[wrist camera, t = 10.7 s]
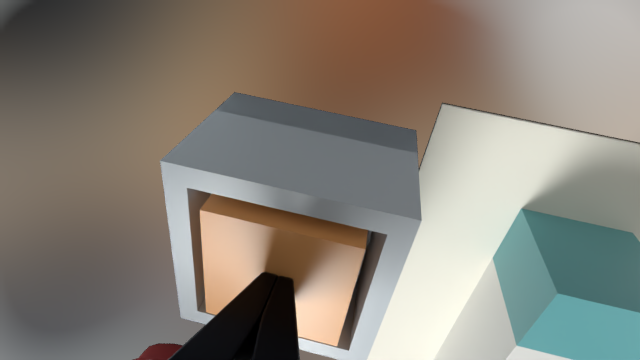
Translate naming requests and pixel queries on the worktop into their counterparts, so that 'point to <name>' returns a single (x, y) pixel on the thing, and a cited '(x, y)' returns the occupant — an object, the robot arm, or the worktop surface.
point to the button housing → (299, 196)
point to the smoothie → (159, 352)
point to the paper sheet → (495, 210)
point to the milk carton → (553, 296)
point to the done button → (281, 260)
